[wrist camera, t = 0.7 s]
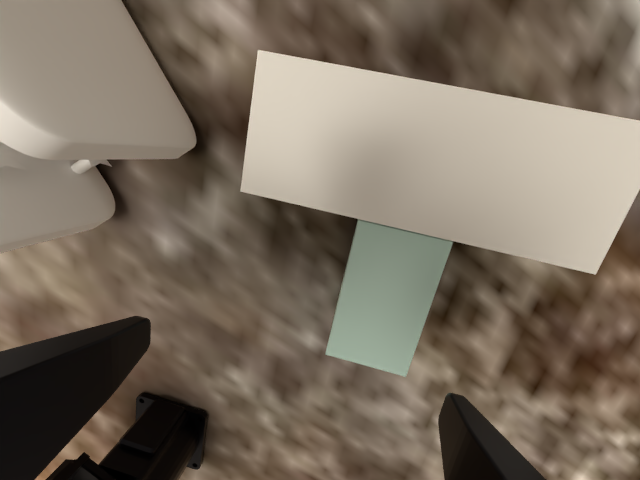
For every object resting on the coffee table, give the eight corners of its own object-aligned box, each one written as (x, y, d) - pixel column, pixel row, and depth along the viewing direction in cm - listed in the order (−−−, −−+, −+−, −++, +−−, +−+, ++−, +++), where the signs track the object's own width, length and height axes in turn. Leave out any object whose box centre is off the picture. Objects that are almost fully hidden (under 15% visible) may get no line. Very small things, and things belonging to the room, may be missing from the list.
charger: (397, 327, 21) (405, 376, 16) (334, 310, 22) (325, 354, 17) (445, 179, 18) (472, 187, 13) (371, 163, 18) (372, 165, 14)
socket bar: (524, 241, 19) (593, 278, 13) (276, 184, 20) (239, 195, 14) (568, 136, 17) (671, 126, 11) (292, 83, 18) (258, 49, 13)
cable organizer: (220, 158, 20) (42, 161, 9) (112, 226, 23) (-127, 290, 12) (88, -73, 18) (-369, -447, 7) (-16, 34, 21) (-463, -110, 10)
